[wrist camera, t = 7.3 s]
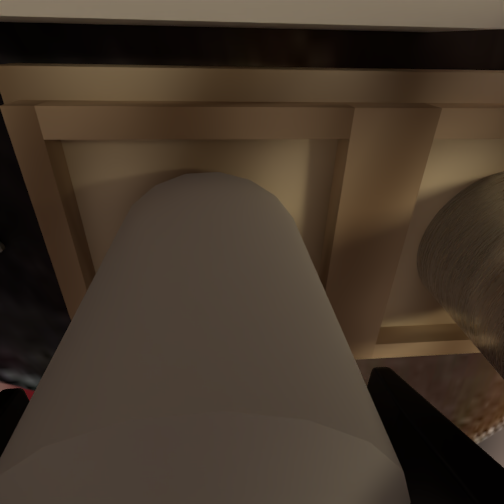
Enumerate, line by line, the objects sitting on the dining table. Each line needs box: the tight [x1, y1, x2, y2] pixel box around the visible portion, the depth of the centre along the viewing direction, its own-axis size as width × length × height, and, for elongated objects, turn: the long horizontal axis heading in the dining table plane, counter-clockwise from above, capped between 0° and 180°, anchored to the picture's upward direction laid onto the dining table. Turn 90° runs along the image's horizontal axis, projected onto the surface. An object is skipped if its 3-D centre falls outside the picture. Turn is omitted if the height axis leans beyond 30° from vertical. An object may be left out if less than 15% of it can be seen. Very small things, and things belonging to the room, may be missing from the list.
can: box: [0, 172, 411, 504], centre depth 10 cm, size 8×8×12 cm
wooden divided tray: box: [0, 63, 504, 360], centre depth 16 cm, size 26×14×3 cm, turn 89°
